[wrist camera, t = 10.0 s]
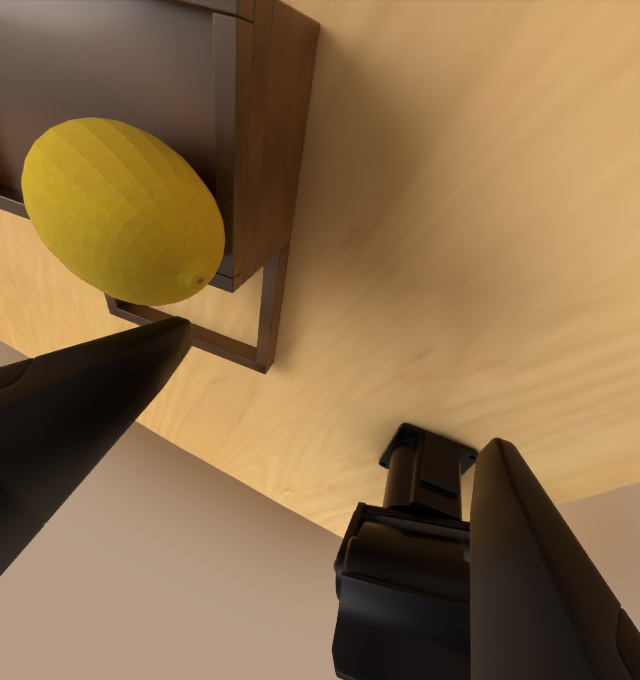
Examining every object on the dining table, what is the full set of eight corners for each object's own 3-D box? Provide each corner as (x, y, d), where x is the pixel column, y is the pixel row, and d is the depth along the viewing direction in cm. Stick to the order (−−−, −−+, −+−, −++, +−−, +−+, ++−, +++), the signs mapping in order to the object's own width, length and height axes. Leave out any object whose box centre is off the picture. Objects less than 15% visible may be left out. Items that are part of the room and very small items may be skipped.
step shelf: (273, 363, 27) (230, 427, 22) (123, 305, 29) (49, 351, 24) (320, 23, 14) (238, -26, 8) (33, -46, 15) (-186, -122, 10)
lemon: (140, 88, 12) (280, 192, 10) (146, 217, 16) (249, 313, 14) (-60, 60, 9) (95, 215, 7) (8, 236, 12) (121, 371, 10)
